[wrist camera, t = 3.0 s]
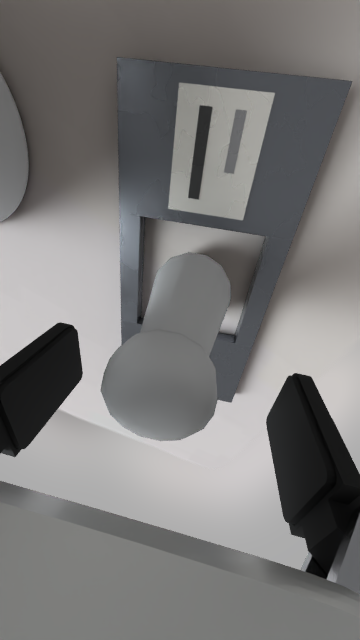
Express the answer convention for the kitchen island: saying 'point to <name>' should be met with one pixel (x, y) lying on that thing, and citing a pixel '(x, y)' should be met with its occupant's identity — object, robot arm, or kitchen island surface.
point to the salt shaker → (171, 353)
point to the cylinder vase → (11, 154)
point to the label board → (218, 172)
